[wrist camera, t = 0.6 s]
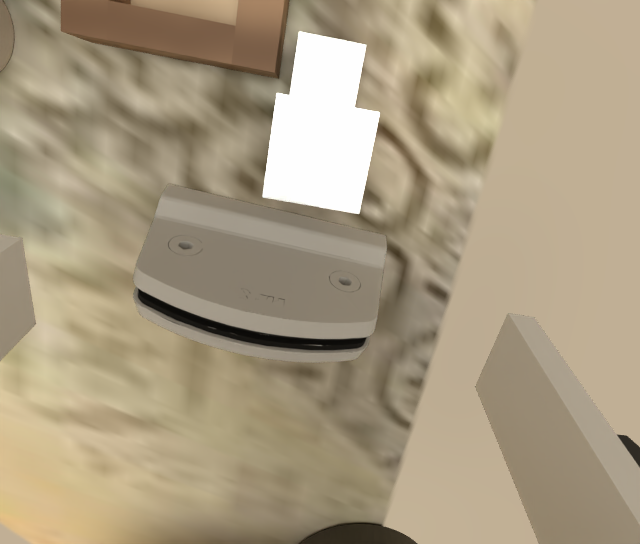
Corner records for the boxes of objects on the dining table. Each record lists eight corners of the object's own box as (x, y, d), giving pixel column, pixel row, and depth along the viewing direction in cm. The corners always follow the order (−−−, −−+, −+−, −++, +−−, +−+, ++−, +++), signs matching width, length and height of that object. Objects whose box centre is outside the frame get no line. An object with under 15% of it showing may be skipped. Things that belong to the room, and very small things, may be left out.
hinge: (391, 236, 33) (403, 333, 26) (371, 284, 36) (376, 385, 28) (162, 181, 32) (99, 268, 24) (161, 236, 35) (104, 329, 27)
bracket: (337, 175, 32) (358, 213, 19) (281, 165, 32) (262, 197, 18) (360, 52, 30) (403, -5, 16) (299, 39, 29) (293, -28, 16)
